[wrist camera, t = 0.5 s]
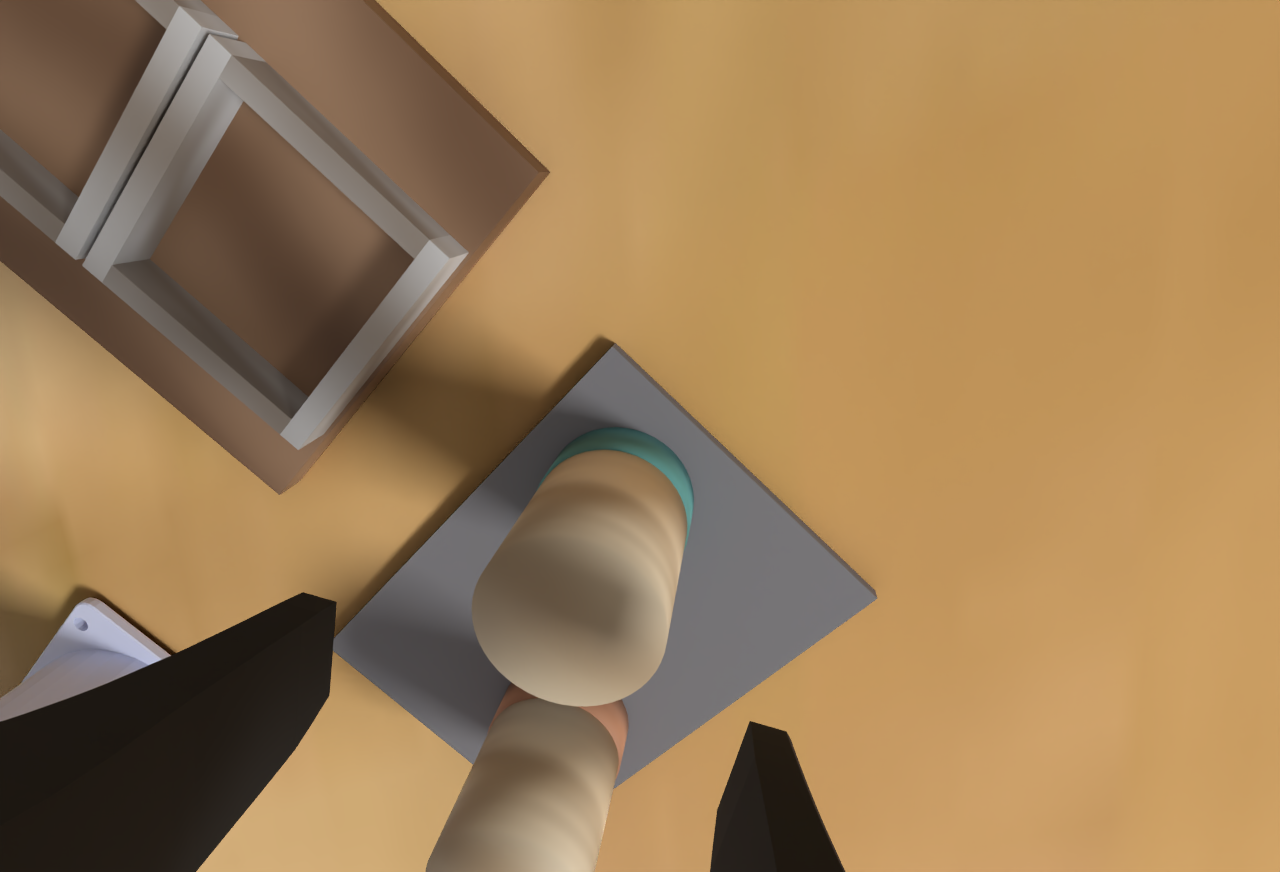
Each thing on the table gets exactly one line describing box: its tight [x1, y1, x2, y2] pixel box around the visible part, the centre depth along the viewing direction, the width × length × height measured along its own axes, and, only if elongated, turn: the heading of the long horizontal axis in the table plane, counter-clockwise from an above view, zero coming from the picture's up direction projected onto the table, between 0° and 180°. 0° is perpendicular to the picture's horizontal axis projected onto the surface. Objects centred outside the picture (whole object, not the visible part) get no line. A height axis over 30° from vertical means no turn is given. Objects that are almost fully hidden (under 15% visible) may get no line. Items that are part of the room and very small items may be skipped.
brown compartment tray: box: [0, 0, 550, 495], centre depth 18 cm, size 12×14×2 cm
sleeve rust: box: [426, 682, 629, 872], centre depth 20 cm, size 4×4×6 cm
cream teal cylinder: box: [472, 427, 694, 707], centre depth 17 cm, size 4×4×6 cm
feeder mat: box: [333, 343, 877, 789], centre depth 22 cm, size 14×10×1 cm
